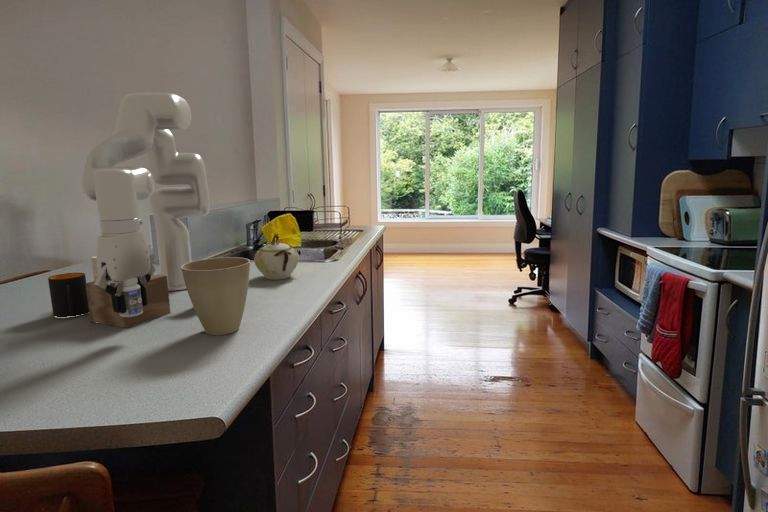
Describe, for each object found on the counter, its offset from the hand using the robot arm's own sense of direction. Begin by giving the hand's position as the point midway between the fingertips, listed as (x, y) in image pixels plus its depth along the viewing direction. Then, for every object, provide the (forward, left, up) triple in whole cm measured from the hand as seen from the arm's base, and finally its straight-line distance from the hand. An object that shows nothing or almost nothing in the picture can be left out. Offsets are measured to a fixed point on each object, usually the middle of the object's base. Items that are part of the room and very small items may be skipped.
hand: (130, 307), depth 110 cm
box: (-15, +11, -7) cm, 20 cm away
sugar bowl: (-7, +63, -7) cm, 64 cm away
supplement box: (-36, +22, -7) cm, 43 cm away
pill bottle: (0, 0, -2) cm, 2 cm away
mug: (-32, +7, -7) cm, 33 cm away
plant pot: (+15, +11, -7) cm, 20 cm away
